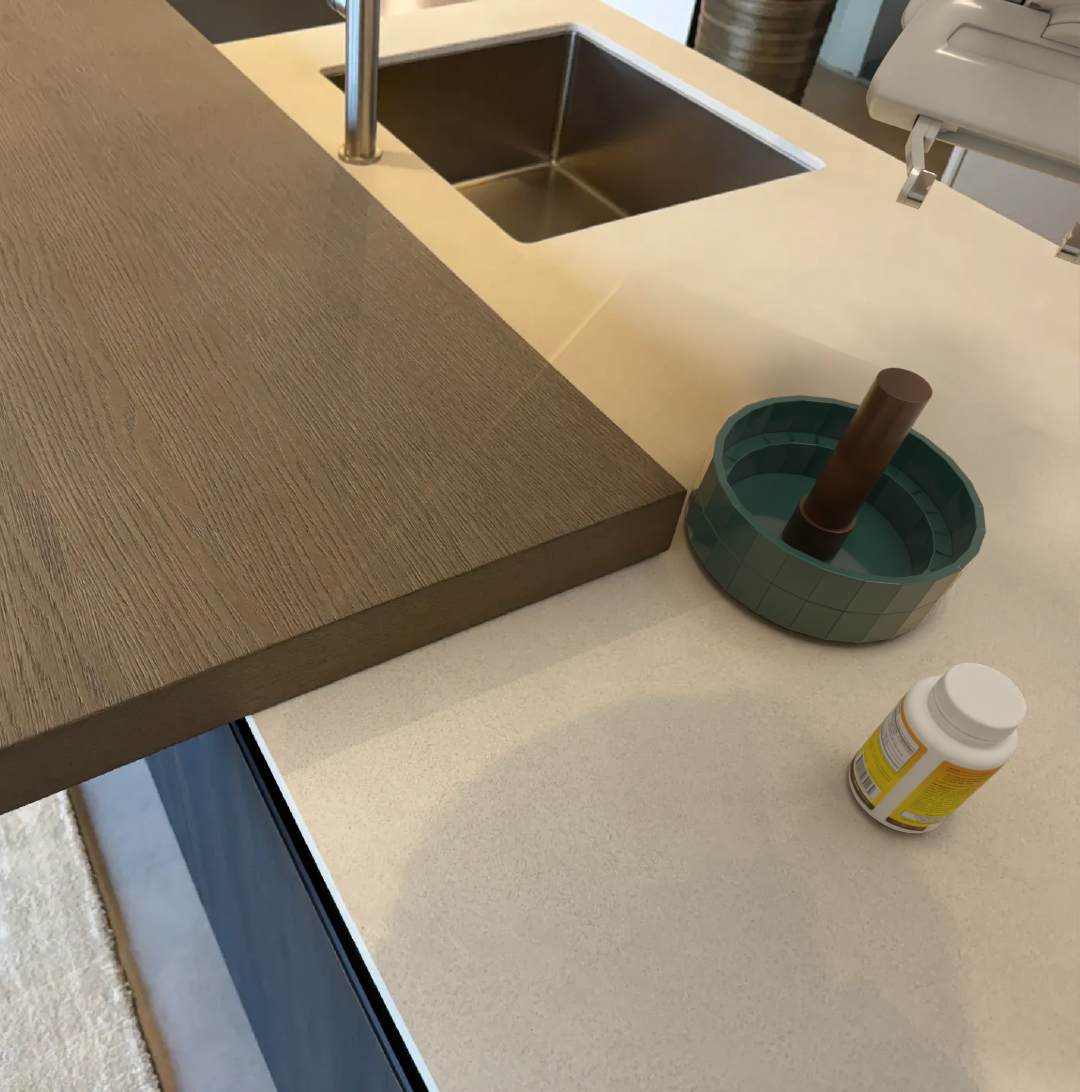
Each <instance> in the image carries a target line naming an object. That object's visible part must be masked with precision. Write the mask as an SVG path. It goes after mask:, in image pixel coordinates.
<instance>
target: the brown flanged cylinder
mask: <svg viewBox="0 0 1080 1092" xmlns="http://www.w3.org/2000/svg"><path fill="white" fill-rule="evenodd" d="M932 396H933V388H932V386H931V385H930V383H929V382H928V381H927V379H925V378H924V377H922V376H921V375H920V374H918V373H916V372H913V371H911V370H909V369H905V368H901V367H887V368H884V369H881V370H880V371H879V372H878V373H877V374H876V377H874V380H873V381H872V383H871V385H870V386H869V388H868V390H867V392H866V394H865V396H863V399H862V400H861V402H860V404H859V405H860V406H859V408H858V409H857V411H856V413H855V415H854V416H853V418H852V420H851V422H850V423H849V425H848V427H847V429H846V430H845V432H844V434H843V436H842V437H841V439H840V441H839V443H838V444H837V446H836V448H835V450H834V451H833V453H832V455H831V457H830V458H829V460H828V462H827V464H826V465H825V467H824V469H823V471H822V472H821V474H820V476H819V478H818V479H817V481H816V483H815V485H814V486H813V488H812V490H811V492H810V493H808V494H806V495H805V496H803V497H802V498H801V500H800V501H799V503H798V505H797V507H796V508H795V510H794V512H793V514H792V515H791V517H790V519H789V521H788V523H787V524H786V526H785V528H784V530H783V539H784V542H785V543H787V544H788V545H789V546H791V547H792V548H794V549H796V550H798V551H800V552H803V553H805V554H807V555H809V556H811V557H813V558H815V559H817V560H820V561H822V562H824V561H829V560H831V559H833V558H834V557H835V556H836V555H837V553H838V552H839V550H840V549H841V547H842V546H843V544H844V542H845V541H846V539H847V538H848V536H849V535H850V533H851V532H852V530H853V528H854V527H855V525H856V522H857V518H856V515H857V513H858V512H859V510H860V508H861V507H862V505H863V504H864V502H865V501H866V499H867V497H868V496H869V494H870V493H871V491H872V490H873V488H874V486H875V485H876V483H877V482H878V480H879V478H880V477H881V475H882V474H883V472H884V471H885V469H886V467H887V466H888V464H889V463H890V461H891V460H892V458H893V456H894V455H895V453H896V452H897V450H898V449H899V447H900V445H901V444H902V442H903V441H904V439H905V438H906V436H907V434H908V433H909V431H910V430H911V428H912V429H913V427H914V425H915V424H916V422H917V420H918V418H919V417H920V416H921V414H922V412H923V411H924V410H925V408H926V407H927V405H928V404H929V402H930V400H931V398H932Z"/></svg>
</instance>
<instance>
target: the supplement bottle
mask: <svg viewBox="0 0 1080 1092" xmlns="http://www.w3.org/2000/svg"><path fill="white" fill-rule="evenodd" d="M1022 693H1023V692H1022V691H1021V690H1020V689H1019V687H1018V686H1017V685H1016V683H1014V681H1012V680H1011V679H1010V677H1008V676H1006V675H1005V674H1004V673H1002V672H1001V671H999V670H997V669H995V668H993V667H990V666H988V665H986V664H982V663H978V662H961V663H957V664H955V665H953V666H951V667H950V668H949V669H948V670H947V671H946V672H945V674H936V675H930V676H926V677H924V678H922V679H920V680H918V681H916V682H915V683H914V684H913V685H912V686H911V687H909V689H908V690H907V691H906V693H905V694H904V695H903V696H902V698H901V699H900V700H899V701H898V702H897V704H896V705H895V706H894V707H893V708H892V709H891V710H890V712H889V713H888V714H887V715H886V717H884V719H883V720H882V722H881V723H880V724H879V726H877V728H876V729H875V730H874V731H873V733H872V734H871V735H870V736H869V737H868V739H867V740H866V741H865V742H864V743H863V744H862V746H861V747H860V748H859V749H858V751H857V752H856V753H855V755H854V756H853V757H852V759H851V762H850V763H849V768H848V783H849V786H850V789H851V792H852V794H853V796H854V798H855V800H856V801H857V803H858V804H859V805H860V807H861V808H862V809H863V810H864V811H865V812H866V813H867V814H868V815H869V816H870V817H872V818H873V819H874V820H876V821H877V822H879V823H880V824H882V825H884V826H886V827H887V828H890V829H893V830H895V831H899V832H901V833H907V834H922V833H923V834H924V833H928V832H931V831H933V830H935V829H936V828H938V827H939V826H941V825H942V824H943V823H944V822H946V821H947V820H948V819H949V818H950V817H951V816H952V815H953V814H954V813H955V812H956V811H957V810H958V809H959V808H960V807H961V806H962V805H964V804H965V802H967V800H969V799H970V798H971V797H972V796H973V795H974V794H975V793H976V792H977V791H978V790H979V789H981V787H982V786H983V785H985V784H986V782H988V781H989V780H990V779H991V778H992V777H993V776H994V775H995V774H996V773H997V772H998V771H1000V769H1001V768H1003V767H1004V766H1005V765H1006V764H1007V762H1009V761H1010V759H1011V758H1012V757H1013V756H1014V755H1015V753H1016V751H1017V749H1018V744H1019V732H1018V731H1019V730H1018V727H1019V725H1021V724H1022V722H1023V721H1024V720H1025V718H1026V715H1027V702H1026V699H1025V697H1024V695H1023V694H1022Z"/></svg>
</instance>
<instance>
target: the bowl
mask: <svg viewBox="0 0 1080 1092" xmlns="http://www.w3.org/2000/svg"><path fill="white" fill-rule="evenodd" d="M859 406H860V404H857V403H852V402H850V401H845V400H841V399H837V398H833V397H826V396H825V397H824V396H817V395H815V396H813V395H804V394H796V395H795V394H794V395H783V396H771V397H768V398H765V399H762V400H759V401H756V402H752V403H749V404H747V405H745V406H744V407H741V409H739V410H738V411H736V412H735V413H732V415H731V416H729V417H728V418H727V419H726V420H725V421H724V423H723V424H722V426H721V428H720V429H719V430H718V432H717V434H716V435H715V437H714V440H713V442H712V444H711V447H710V448H709V451H708V453H707V455H706V458H705V460H704V462H703V464H702V467H701V469H700V471H699V473H698V475H697V478H696V480H695V482H694V485H693V487H692V488H691V491H690V492H689V496H688V499H687V505H686V506H687V507H686V513H685V522H686V527H687V532H688V536H689V541H690V544H691V545H692V548H693V549H694V552H695V553H696V555H697V557H698V558H699V560H700V562H701V564H702V565H703V567H704V568H705V570H706V571H707V572H708V573H709V574H710V575H711V577H713V578H714V579H715V581H716V582H717V583H718V584H719V586H721V587H722V588H723V589H724V591H726V592H727V593H728V594H729V595H730V596H732V597H733V598H735V599H736V600H737V601H739V602H740V603H741V604H743V605H744V606H745V607H747V608H748V609H749V610H750V611H752V612H753V613H755V614H757V615H759V616H761V617H763V618H765V619H767V620H769V621H771V622H773V623H775V624H777V625H779V626H781V627H782V628H783V627H784V628H785V629H787V630H790V631H793V632H797V633H801V634H803V635H808V636H811V637H815V638H817V639H821V640H825V641H833V642H834V641H835V642H845V643H854V644H855V643H856V644H862V643H869V642H878V641H883V640H884V641H885V640H891V639H895V638H896V637H898V636H900V635H902V634H905V633H907V632H910V631H912V630H913V629H916V628H917V627H919V625H920V624H921V623H922V622H923V621H924V620H925V619H926V618H927V617H928V616H929V615H930V614H931V613H932V612H934V610H935V609H936V607H937V606H938V605H939V604H940V603H941V601H942V600H943V599H944V597H945V596H946V595H947V593H948V592H949V591H950V590H951V588H953V586H954V585H955V584H956V582H957V581H959V578H960V577H961V576H962V575H963V573H964V572H965V571H966V570H967V568H969V566H970V565H971V563H972V562H973V561H974V560H975V558H976V557H977V556H978V555H979V553H980V551H981V548H982V545H983V542H984V540H985V539H984V538H985V536H986V533H987V528H986V527H987V525H986V517H985V509H984V505H983V502H982V501H981V498H980V497H979V494H978V492H977V490H976V488H975V486H974V484H973V482H972V481H971V479H970V478H969V477H968V476H967V474H966V473H965V472H964V471H963V469H962V468H961V467H960V466H959V464H958V463H957V462H956V461H955V460H954V459H953V458H952V457H951V456H950V454H949V455H948V454H947V453H946V452H945V451H944V450H943V449H941V448H940V447H939V446H938V445H937V444H935V442H933V441H932V440H931V439H930V438H929V437H927V436H926V435H924V434H922V433H920V432H919V431H917V430H916V429H914V428H913V427H912V428H911V430H910V431H909V433H908V434H907V436H906V438H905V439H904V441H903V442H902V444H901V445H900V447H899V449H898V450H897V452H896V453H895V455H894V456H893V458H892V460H891V461H890V463H889V464H888V466H887V467H886V469H885V471H884V472H883V474H882V475H881V477H880V478H879V480H878V482H877V483H876V485H875V486H874V488H873V490H872V491H871V493H870V494H869V496H868V497H867V499H866V501H865V502H864V504H863V505H862V507H861V508H860V510H859V512H858V513H857V515H856V518H857V522H856V525H855V527H854V528H853V530H852V532H851V533H850V535H849V536H848V538H847V539H846V541H845V542H844V544H843V546H842V547H841V549H840V550H839V552H838V553H837V555H836V556H835V557H834V558H833V559H831V560H829V561H824V562H822V561H820V560H817V559H815V558H813V557H811V556H809V555H807V554H805V553H803V552H800V551H798V550H796V549H794V548H792V547H791V546H789V545H788V544H787V543H785V542H784V539H783V530H784V528H785V526H786V524H787V523H788V521H789V519H790V517H791V515H792V514H793V512H794V510H795V508H796V507H797V505H798V503H799V501H800V500H801V498H802V497H803V496H805V495H806V494H808V493H810V492H811V490H812V488H813V486H814V485H815V483H816V481H817V479H818V478H819V476H820V474H821V472H822V471H823V469H824V467H825V465H826V464H827V462H828V460H829V458H830V457H831V455H832V453H833V451H834V450H835V448H836V446H837V444H838V443H839V441H840V439H841V437H842V436H843V434H844V432H845V430H846V429H847V427H848V425H849V423H850V422H851V420H852V418H853V416H854V415H855V413H856V411H857V409H858V408H859Z"/></svg>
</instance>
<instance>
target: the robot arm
mask: <svg viewBox="0 0 1080 1092" xmlns="http://www.w3.org/2000/svg"><path fill="white" fill-rule="evenodd" d="M900 22H901V23H900V25H901V30H902V31H901V32H900V34H899V35H898V37H897V38H896V40H895V41H894V42H893V43H892V45H891V47H890V48H889V50H888V51H887V53H886V55H885V56H884V57H883V59H882V61H881V63H880V64H879V65H878V67H877V69H876V71H875V72H874V75H873V76H872V79H871V81H870V83H869V85H868V89H867V92H866V97H865V102H866V107H867V111H868V114H869V116H870V118H871V119H872V120H875V121H878V122H881V123H884V124H887V125H890V126H893V127H895V128H896V127H897V128H899V129H903V130H905V131H909V132H910V133H909V136H908V138H907V141H906V144H905V146H904V152H905V153H904V155H905V165H906V167H905V168H906V176H907V178H906V180H905V181H904V183H903V185H902V187H901V189H900V191H899V194H898V195H897V198H896V200H895V202H896V203H899V204H901V205H903V206H904V205H905V206H907V207H910V208H913V209H916V210H920V209H921V207H922V205H923V203H924V201H925V200H926V198H927V196H928V194H929V192H930V191H931V189H932V187H933V186H934V183H935V181H936V179H937V177H938V174H937V173H934V172H931V171H929V170H926V163H925V162H926V161H925V154H927V153H929V152H930V150H931V148H932V146H933V144H934V143H935V141H936V140H937V141H939V142H941V143H942V142H943V143H945V144H949V145H951V146H952V145H953V146H955V147H958V148H961V149H964V150H968V151H970V152H974V153H977V154H980V155H982V156H986V157H988V158H992V159H994V160H998V161H1001V162H1004V163H1007V164H1010V165H1013V166H1016V167H1020V168H1023V169H1026V170H1029V171H1032V172H1035V173H1038V174H1041V175H1044V176H1047V177H1050V178H1054V179H1056V180H1060V181H1063V182H1066V183H1068V184H1072V185H1075V186H1078V187H1080V0H908V3H907V5H906V7H905V8H904V11H903V12H902V15H901V21H900ZM1061 243H1062V244H1061V245H1060V246H1059V247H1058V248H1057V249H1056V252H1055V253H1054V257H1055V258H1058V259H1059V260H1060V259H1061V260H1063V261H1066V262H1069V263H1071V264H1073V265H1077V266H1080V221H1076V222H1075V223H1074V224H1073V226H1072V227H1070V229H1069V230H1068V231H1067V232H1066V234H1065V236H1064V237H1063V239H1062V242H1061Z"/></svg>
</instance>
